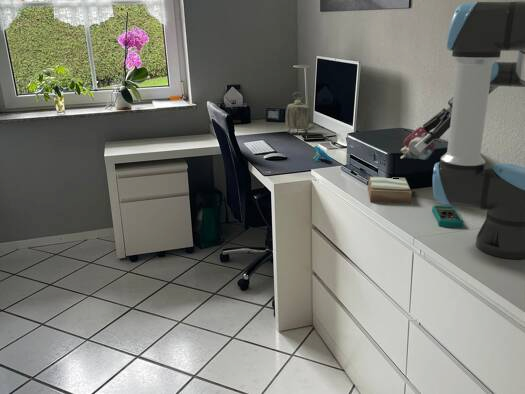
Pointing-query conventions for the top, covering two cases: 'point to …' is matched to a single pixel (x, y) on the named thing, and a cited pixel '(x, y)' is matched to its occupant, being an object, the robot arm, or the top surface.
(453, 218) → the digital multimeter
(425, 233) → the top surface
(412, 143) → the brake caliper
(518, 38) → the robot arm
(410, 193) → the walnut stand
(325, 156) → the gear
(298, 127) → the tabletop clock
